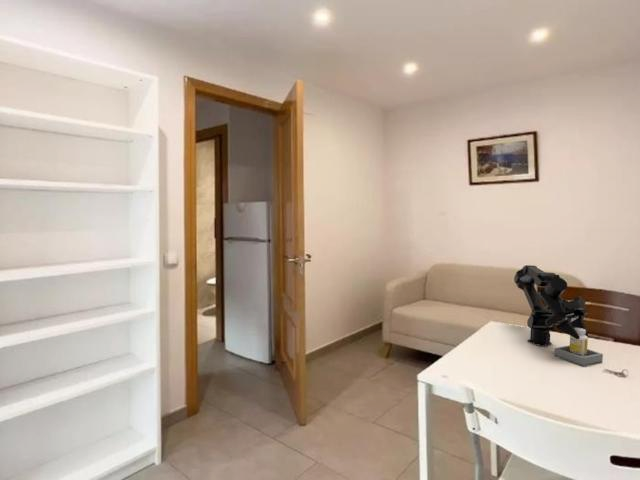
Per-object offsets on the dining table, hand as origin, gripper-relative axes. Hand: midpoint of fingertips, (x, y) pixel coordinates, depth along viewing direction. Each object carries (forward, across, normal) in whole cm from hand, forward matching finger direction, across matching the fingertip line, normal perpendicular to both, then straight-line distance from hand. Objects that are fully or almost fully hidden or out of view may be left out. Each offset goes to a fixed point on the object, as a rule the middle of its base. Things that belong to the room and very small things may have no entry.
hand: (583, 337), depth 140 cm
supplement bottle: (+4, 0, +6) cm, 7 cm away
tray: (+5, 0, +7) cm, 9 cm away
